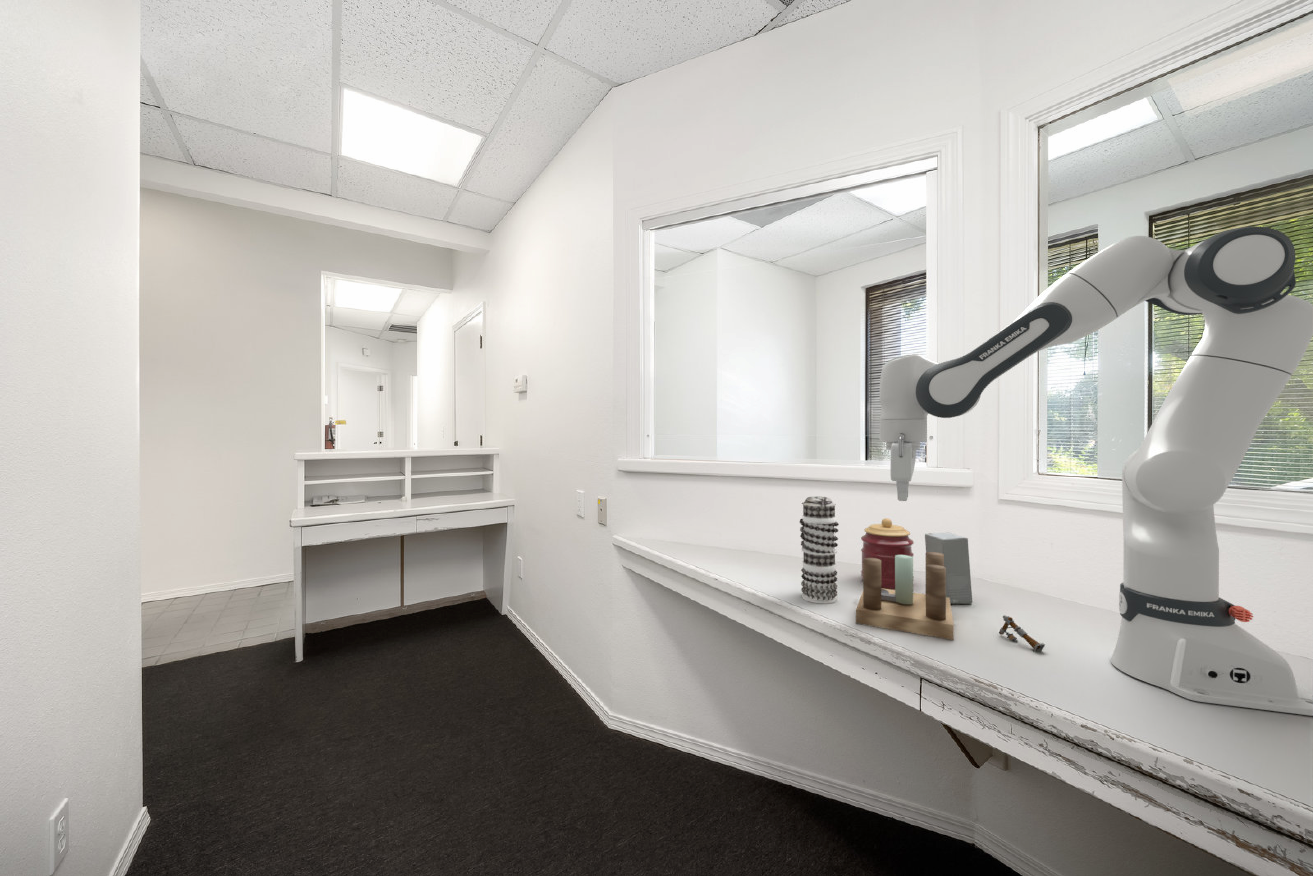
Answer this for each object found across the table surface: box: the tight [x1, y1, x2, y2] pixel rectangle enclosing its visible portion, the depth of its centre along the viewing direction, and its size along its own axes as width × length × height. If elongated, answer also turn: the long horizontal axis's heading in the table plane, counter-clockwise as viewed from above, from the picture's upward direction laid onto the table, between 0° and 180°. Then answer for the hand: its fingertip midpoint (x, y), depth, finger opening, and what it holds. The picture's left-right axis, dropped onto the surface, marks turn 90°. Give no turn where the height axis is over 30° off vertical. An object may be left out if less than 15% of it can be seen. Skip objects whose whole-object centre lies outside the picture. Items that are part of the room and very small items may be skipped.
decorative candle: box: [799, 496, 839, 605], centre depth 121 cm, size 9×9×25 cm
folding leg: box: [881, 555, 914, 604], centre depth 109 cm, size 9×4×10 cm, turn 61°
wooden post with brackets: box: [998, 615, 1046, 653], centre depth 95 cm, size 2×8×4 cm, turn 14°
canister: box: [860, 517, 915, 590], centre depth 132 cm, size 13×13×18 cm
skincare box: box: [924, 532, 973, 605], centre depth 119 cm, size 8×7×16 cm
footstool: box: [855, 551, 955, 641], centre depth 108 cm, size 18×18×13 cm
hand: (902, 499), depth 102 cm, fingers open, 3 cm apart
